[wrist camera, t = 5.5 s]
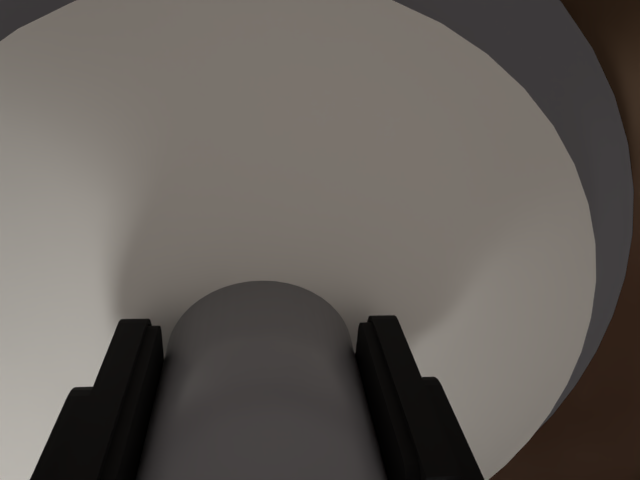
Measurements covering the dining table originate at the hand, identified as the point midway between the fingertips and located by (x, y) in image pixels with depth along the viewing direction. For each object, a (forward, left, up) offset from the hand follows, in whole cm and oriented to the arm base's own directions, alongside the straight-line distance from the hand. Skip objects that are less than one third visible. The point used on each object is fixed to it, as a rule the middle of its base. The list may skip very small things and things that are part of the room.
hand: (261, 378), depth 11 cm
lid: (0, 0, -2) cm, 2 cm away
